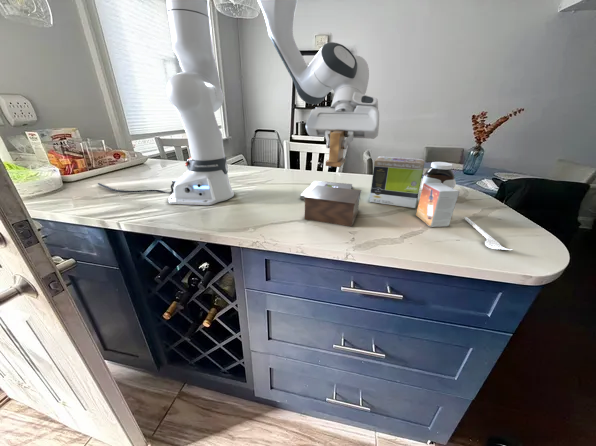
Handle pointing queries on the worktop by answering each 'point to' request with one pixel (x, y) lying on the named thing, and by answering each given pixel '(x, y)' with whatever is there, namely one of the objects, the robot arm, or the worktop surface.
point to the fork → (487, 237)
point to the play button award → (329, 184)
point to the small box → (436, 204)
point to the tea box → (396, 181)
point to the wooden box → (332, 205)
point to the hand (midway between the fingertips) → (336, 147)
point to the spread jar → (440, 174)
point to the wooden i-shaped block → (336, 149)
